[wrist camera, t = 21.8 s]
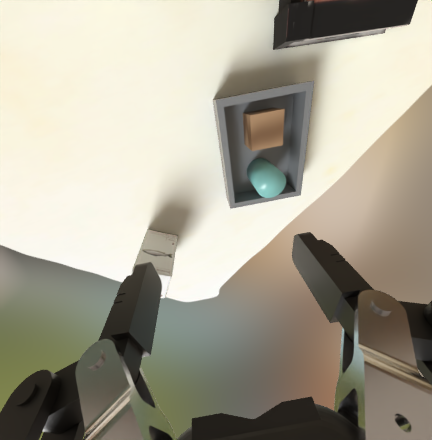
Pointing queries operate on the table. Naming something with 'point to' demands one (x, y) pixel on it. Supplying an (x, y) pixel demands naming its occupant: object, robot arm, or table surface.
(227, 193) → the tote
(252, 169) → the cylinder
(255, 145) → the cube
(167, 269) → the supplement box
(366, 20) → the book
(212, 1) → the table surface
